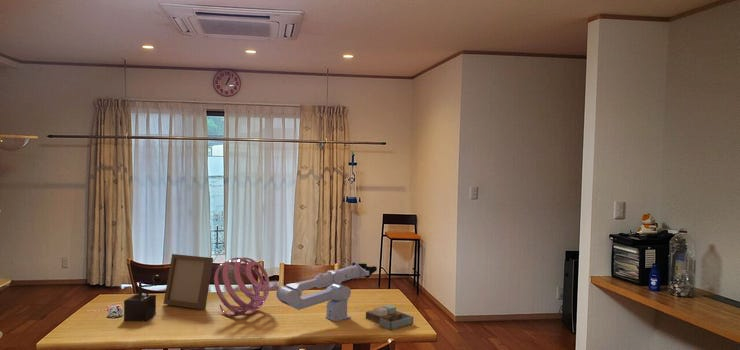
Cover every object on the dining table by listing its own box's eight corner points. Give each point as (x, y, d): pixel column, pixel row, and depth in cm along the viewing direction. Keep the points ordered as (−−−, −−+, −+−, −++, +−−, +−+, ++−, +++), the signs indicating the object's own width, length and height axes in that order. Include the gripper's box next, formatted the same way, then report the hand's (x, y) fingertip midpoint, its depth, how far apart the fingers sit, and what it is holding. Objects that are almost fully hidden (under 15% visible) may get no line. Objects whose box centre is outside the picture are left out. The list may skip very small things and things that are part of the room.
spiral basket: (190, 272, 229) (231, 244, 221) (231, 275, 253) (270, 249, 246) (205, 328, 217) (249, 300, 210) (247, 325, 241) (288, 300, 234)
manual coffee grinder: (147, 321, 217) (148, 282, 216) (123, 321, 217) (123, 281, 216) (162, 311, 232) (162, 273, 232) (139, 310, 232) (139, 273, 232)
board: (382, 325, 219) (382, 318, 219) (365, 318, 228) (365, 311, 228) (403, 319, 227) (403, 313, 227) (386, 313, 237) (386, 307, 236)
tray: (390, 330, 212) (390, 322, 212) (379, 326, 217) (379, 318, 217) (413, 324, 221) (413, 316, 221) (402, 320, 226) (402, 312, 226)
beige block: (380, 316, 222) (380, 310, 222) (373, 313, 225) (373, 308, 225) (387, 314, 225) (387, 309, 225) (380, 312, 228) (381, 306, 228)
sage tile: (388, 314, 225) (389, 308, 225) (382, 311, 229) (382, 306, 229) (396, 312, 228) (396, 307, 228) (389, 310, 232) (389, 304, 232)
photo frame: (199, 310, 233) (200, 259, 233) (163, 305, 240) (164, 255, 240) (218, 302, 247) (219, 254, 247) (183, 298, 254) (184, 251, 254)
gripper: (358, 267, 225) (380, 261, 234) (340, 262, 236) (361, 256, 245) (359, 282, 226) (381, 275, 234) (340, 276, 237) (362, 270, 246)
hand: (371, 267), depth 240 cm, fingers open, 7 cm apart
